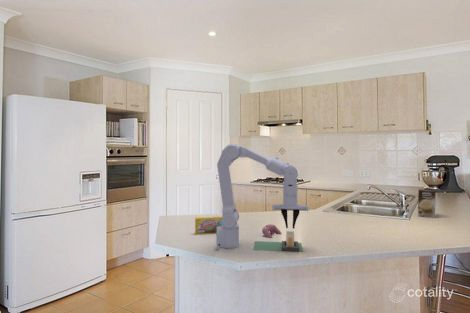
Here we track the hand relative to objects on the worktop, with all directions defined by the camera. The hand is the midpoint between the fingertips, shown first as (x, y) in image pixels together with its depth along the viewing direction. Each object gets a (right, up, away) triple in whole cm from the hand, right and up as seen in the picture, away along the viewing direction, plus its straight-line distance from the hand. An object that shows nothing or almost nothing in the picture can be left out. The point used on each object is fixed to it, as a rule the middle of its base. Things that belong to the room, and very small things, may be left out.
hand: (290, 227), depth 127 cm
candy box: (-35, -9, +27) cm, 45 cm away
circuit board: (-5, -9, +2) cm, 11 cm away
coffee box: (+95, -8, +63) cm, 114 cm away
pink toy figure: (-5, -9, +19) cm, 22 cm away
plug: (0, -8, 0) cm, 8 cm away
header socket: (0, -9, 0) cm, 9 cm away
